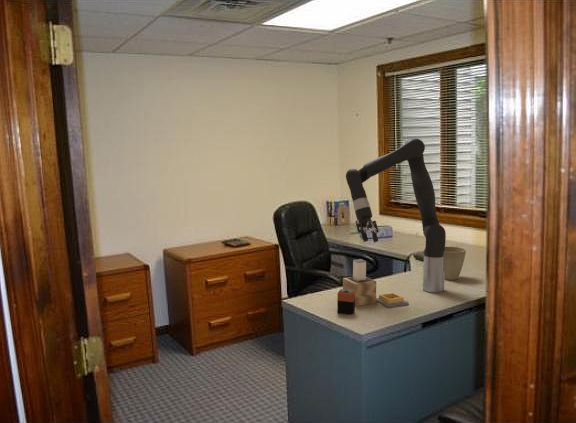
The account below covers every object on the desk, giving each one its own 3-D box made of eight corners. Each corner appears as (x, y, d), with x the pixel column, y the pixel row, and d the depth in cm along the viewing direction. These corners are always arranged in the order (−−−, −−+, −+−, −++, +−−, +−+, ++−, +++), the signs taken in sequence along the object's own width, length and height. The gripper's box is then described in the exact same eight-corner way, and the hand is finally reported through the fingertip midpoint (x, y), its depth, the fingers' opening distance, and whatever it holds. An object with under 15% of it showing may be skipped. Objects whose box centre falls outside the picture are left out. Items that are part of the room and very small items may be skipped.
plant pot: (452, 273, 271) (454, 245, 268) (470, 280, 257) (472, 250, 255) (429, 276, 266) (430, 247, 264) (447, 283, 252) (448, 252, 250)
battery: (339, 310, 211) (339, 287, 210) (355, 311, 209) (355, 289, 207) (337, 313, 207) (337, 290, 205) (352, 315, 205) (353, 292, 203)
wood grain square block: (363, 296, 231) (363, 274, 229) (375, 302, 221) (376, 280, 219) (342, 299, 226) (342, 276, 225) (354, 305, 216) (355, 282, 215)
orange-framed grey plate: (394, 298, 227) (394, 291, 227) (408, 304, 217) (408, 297, 217) (373, 300, 223) (374, 294, 223) (387, 308, 213) (387, 301, 213)
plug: (360, 278, 225) (361, 258, 224) (365, 280, 221) (366, 260, 220) (353, 279, 223) (353, 259, 222) (357, 281, 219) (358, 261, 218)
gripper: (360, 205, 225) (369, 238, 220) (377, 207, 235) (386, 239, 230) (347, 210, 229) (356, 243, 225) (364, 212, 240) (373, 244, 235)
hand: (371, 241), depth 228 cm, fingers open, 8 cm apart
